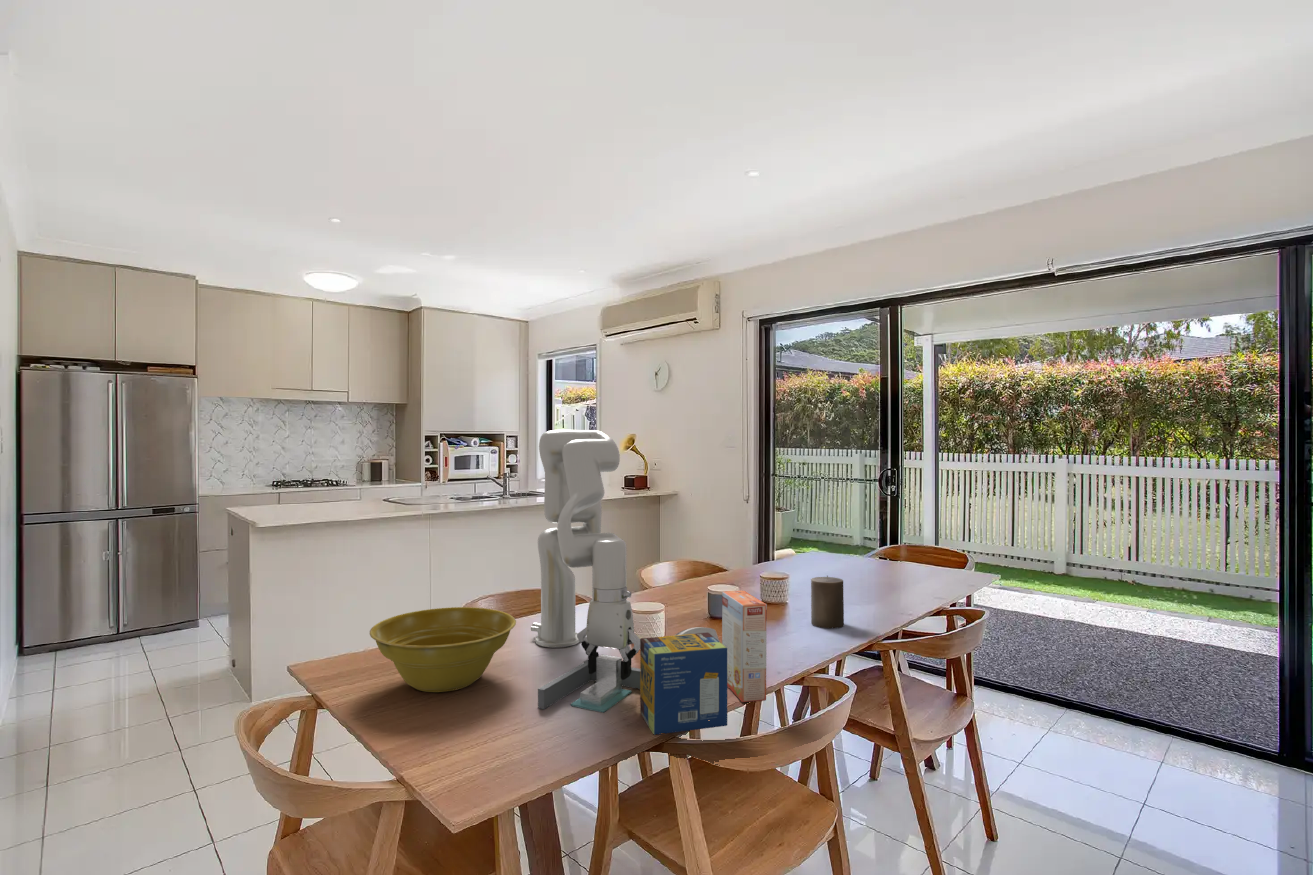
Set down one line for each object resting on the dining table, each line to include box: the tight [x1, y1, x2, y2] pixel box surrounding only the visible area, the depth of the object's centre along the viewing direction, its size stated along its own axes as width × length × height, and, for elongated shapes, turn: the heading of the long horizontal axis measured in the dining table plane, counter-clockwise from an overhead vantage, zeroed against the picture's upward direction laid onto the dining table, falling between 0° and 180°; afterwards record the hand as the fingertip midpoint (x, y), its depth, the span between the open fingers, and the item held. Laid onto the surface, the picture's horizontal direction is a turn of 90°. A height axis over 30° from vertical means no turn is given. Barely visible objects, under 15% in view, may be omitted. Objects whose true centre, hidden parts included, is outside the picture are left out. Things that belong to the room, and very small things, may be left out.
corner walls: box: [537, 659, 640, 710], centre depth 141 cm, size 18×20×4 cm
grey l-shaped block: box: [579, 654, 623, 707], centre depth 140 cm, size 9×5×8 cm, turn 154°
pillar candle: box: [810, 575, 845, 630], centre depth 198 cm, size 10×10×15 cm
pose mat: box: [570, 688, 632, 713], centre depth 140 cm, size 8×12×1 cm, turn 154°
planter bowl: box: [369, 606, 517, 693], centre depth 151 cm, size 32×32×13 cm
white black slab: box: [673, 626, 721, 643], centre depth 162 cm, size 17×5×10 cm, turn 132°
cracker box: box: [721, 590, 768, 703], centre depth 145 cm, size 14×6×21 cm, turn 12°
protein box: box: [639, 632, 728, 736], centre depth 130 cm, size 10×15×16 cm
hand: (609, 674), depth 143 cm, fingers open, 7 cm apart
